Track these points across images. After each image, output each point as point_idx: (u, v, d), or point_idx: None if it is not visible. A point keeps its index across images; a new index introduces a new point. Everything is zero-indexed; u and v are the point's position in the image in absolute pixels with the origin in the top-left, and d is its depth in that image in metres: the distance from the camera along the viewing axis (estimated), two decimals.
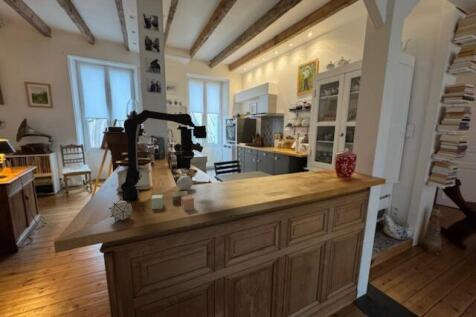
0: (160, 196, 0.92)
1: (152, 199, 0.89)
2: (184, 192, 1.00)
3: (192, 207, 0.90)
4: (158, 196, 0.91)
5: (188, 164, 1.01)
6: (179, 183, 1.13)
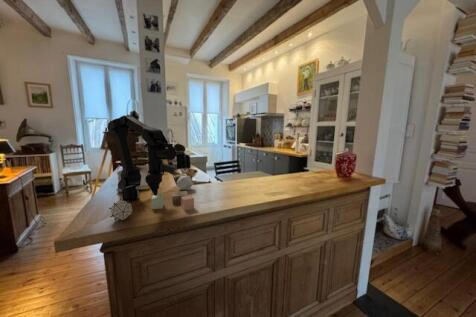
0: (160, 196, 0.92)
1: (152, 199, 0.89)
2: (184, 192, 1.00)
3: (192, 207, 0.90)
4: (158, 196, 0.91)
5: (156, 189, 0.85)
6: (179, 183, 1.13)
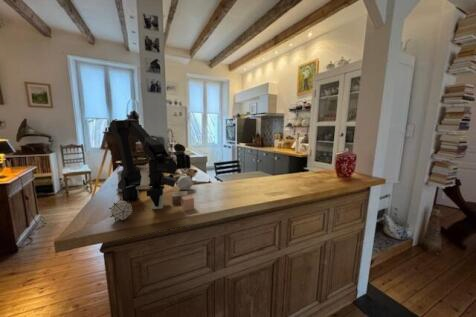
0: None
1: None
2: (184, 192, 1.00)
3: (192, 207, 0.90)
4: None
5: (157, 201, 0.88)
6: (179, 183, 1.13)
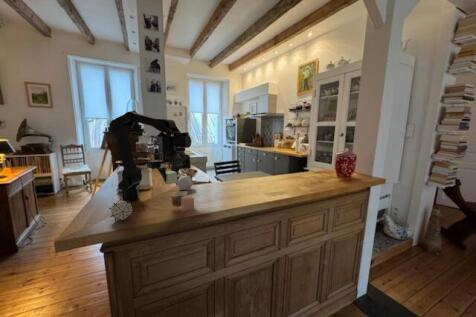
0: (172, 172, 0.93)
1: None
2: (184, 192, 1.00)
3: (192, 207, 0.90)
4: (169, 172, 0.93)
5: (163, 175, 0.91)
6: (179, 183, 1.13)
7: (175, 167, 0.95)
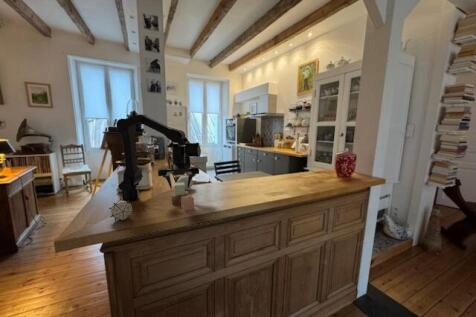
0: (180, 184, 0.97)
1: None
2: (185, 192, 1.00)
3: (192, 207, 0.90)
4: (178, 184, 0.98)
5: None
6: None
7: (188, 176, 0.99)
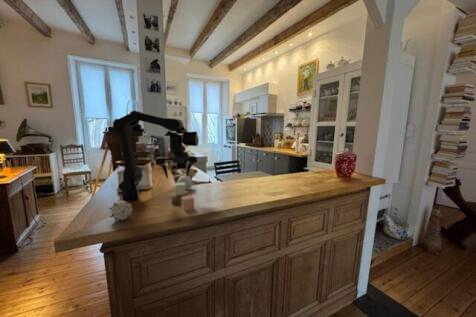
0: (180, 184, 0.97)
1: None
2: (185, 192, 1.00)
3: (192, 207, 0.90)
4: (179, 184, 0.98)
5: None
6: None
7: (187, 165, 0.99)
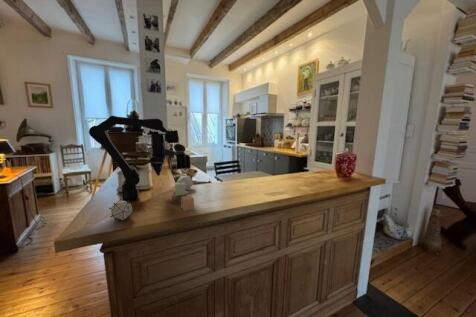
0: (180, 184, 0.97)
1: (175, 184, 0.99)
2: None
3: (192, 207, 0.90)
4: (179, 184, 0.98)
5: (159, 170, 1.00)
6: None
7: None
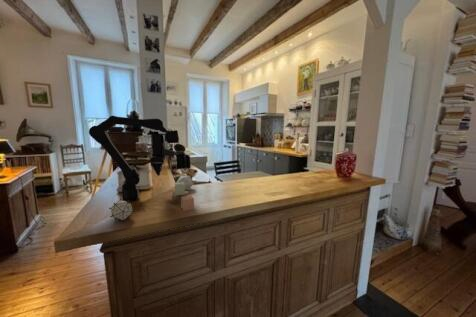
0: (180, 184, 0.97)
1: None
2: None
3: (192, 207, 0.90)
4: (178, 183, 0.98)
5: (159, 170, 1.00)
6: None
7: None
